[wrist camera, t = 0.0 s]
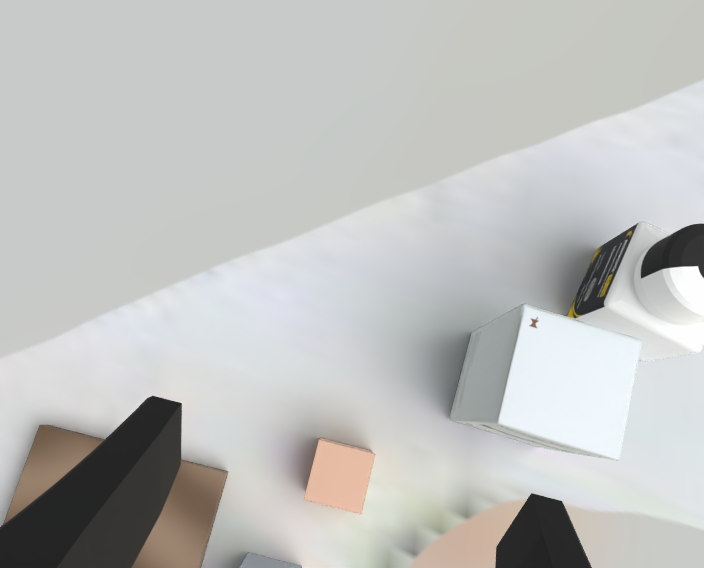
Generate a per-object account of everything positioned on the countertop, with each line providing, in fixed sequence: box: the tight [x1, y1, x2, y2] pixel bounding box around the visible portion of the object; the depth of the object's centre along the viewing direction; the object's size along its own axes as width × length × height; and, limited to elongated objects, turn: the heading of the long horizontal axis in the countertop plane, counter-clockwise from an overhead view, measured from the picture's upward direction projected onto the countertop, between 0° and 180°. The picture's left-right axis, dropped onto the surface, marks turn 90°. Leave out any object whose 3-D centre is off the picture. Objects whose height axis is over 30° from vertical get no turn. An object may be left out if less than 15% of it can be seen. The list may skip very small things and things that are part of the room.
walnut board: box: [3, 425, 228, 568], centre depth 40 cm, size 16×14×1 cm
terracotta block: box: [304, 438, 375, 514], centre depth 41 cm, size 4×4×4 cm
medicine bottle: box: [567, 222, 704, 362], centre depth 40 cm, size 7×7×12 cm
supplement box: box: [450, 304, 642, 460], centre depth 38 cm, size 7×7×13 cm
